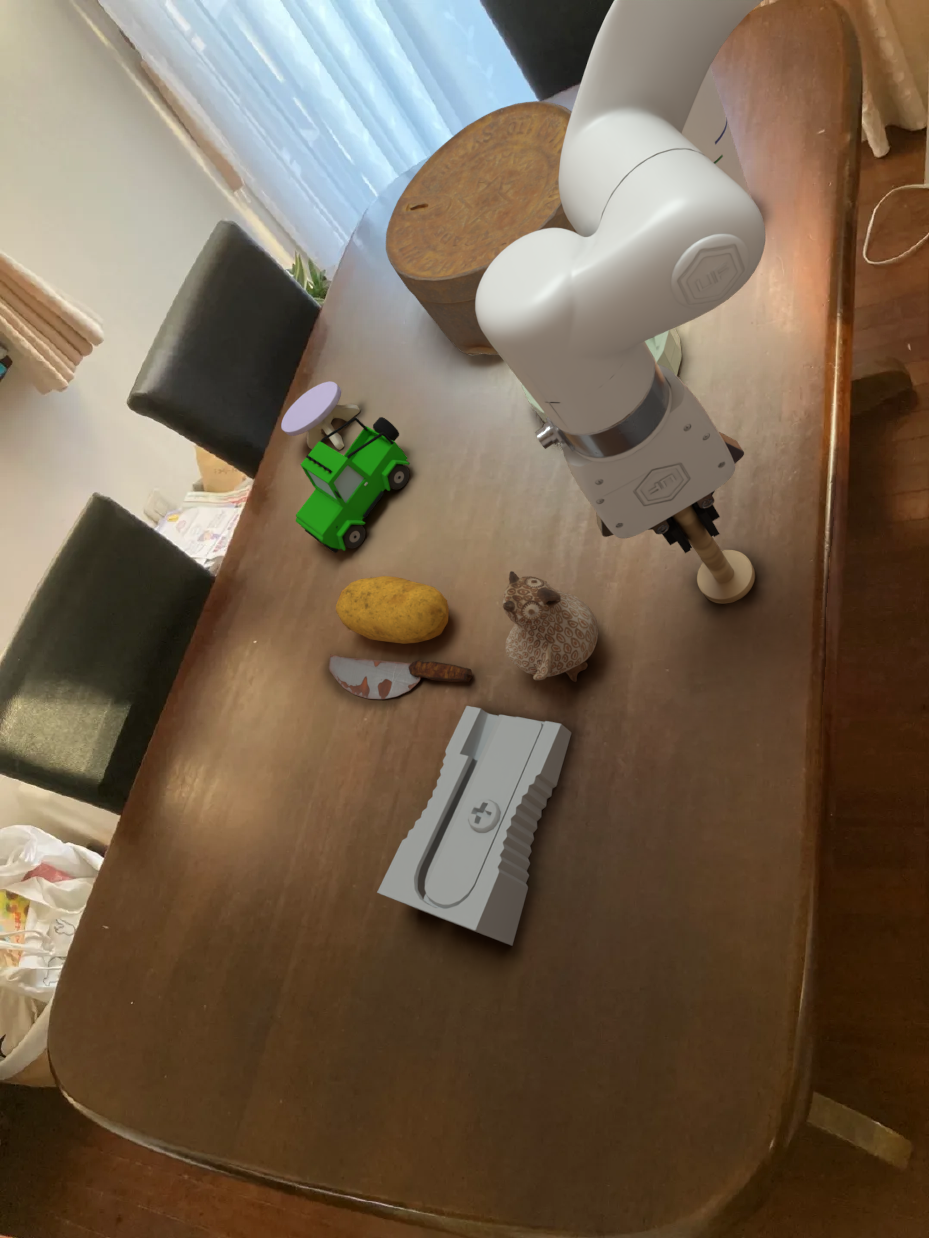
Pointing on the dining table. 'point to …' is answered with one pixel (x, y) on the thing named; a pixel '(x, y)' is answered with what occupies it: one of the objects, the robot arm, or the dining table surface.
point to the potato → (393, 609)
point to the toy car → (350, 484)
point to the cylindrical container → (713, 131)
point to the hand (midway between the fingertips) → (695, 530)
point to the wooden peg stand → (716, 562)
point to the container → (477, 211)
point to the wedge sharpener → (480, 824)
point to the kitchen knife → (390, 675)
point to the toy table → (318, 414)
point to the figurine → (547, 628)
